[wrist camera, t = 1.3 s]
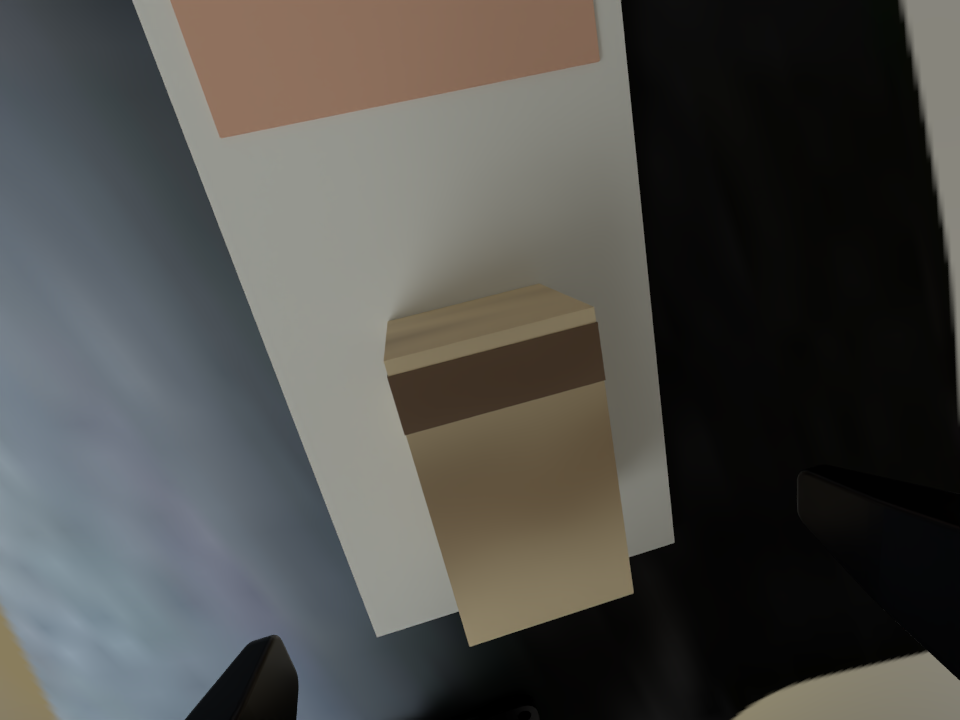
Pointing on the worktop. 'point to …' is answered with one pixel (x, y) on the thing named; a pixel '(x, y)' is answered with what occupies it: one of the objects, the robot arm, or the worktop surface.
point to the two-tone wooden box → (513, 455)
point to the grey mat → (417, 223)
